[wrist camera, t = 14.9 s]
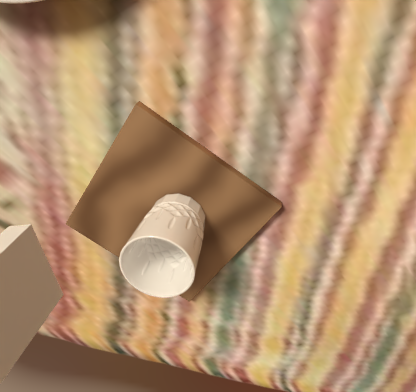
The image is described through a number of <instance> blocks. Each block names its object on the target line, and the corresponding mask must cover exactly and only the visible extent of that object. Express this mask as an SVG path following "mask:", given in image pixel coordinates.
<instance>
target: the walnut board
mask: <svg viewBox="0 0 416 392" xmlns="http://www.w3.org/2000/svg"><path fill="white" fill-rule="evenodd" d="M168 194H182V195H185V196H188V197H191V198H192V199H193V200H195V201H196V202H197V203H198V204H199V205H200V206H201V208H202V210H203V212H204V214H205V228H204V235H203V240H202V246H201V251H200V255H199V260H198V264H197V268H196V273H195V278H194V281H193V283H192V285H191V286H190V288H189V289H188V290H187V291H185V292H184V293H182V294H180V296H181V297H183V298H185V299H186V300H188V301H189V302H190V301H191V300H192V299H193V298H194V297H195V296H196V295H197V294H198V293H199V292H200V290H201V289H202V288H203V287H204V286H205V285H206V284H207V283H208V282H209V281H210V280H211V279H212V278H213V277H214V276H215V275H216V274H217V273H218V272H219V271H220V270H221V269H222V268H223V267H224V266H225V265H226V264H227V263H228V262H229V261H230V260H231V259H232V258H233V257H234V256H235V254H236V253H237V252H238V251H239V250H240V249H241V248H242V247H243V246H244V245H245V244H246V243H247V242H248V241H249V240H250V239H251V238H252V237H253V236H254V235H255V234H256V233H257V232H258V231H259V230H260V229H261V228H262V227H263V226H264V225H265V224H266V223H267V222H268V221H269V220H270V219H271V217H272V216H273V215H274V214H275V213H276V212H277V211H278V210H279V209H280V208H281V207H282V202H281V201H280V200H278V199H277V198H275V197H274V196H273V195H271V194H270V193H268V192H267V191H266V190H264V189H263V188H261V187H260V186H258V185H257V184H256V183H254V182H253V181H251V180H250V179H249V178H247V177H246V176H244V175H243V174H242V173H240V172H239V171H237V170H236V169H234V168H233V167H232V166H230V165H229V164H227V163H226V162H225V161H223V160H222V159H220V158H219V157H217V156H216V155H215V154H213V153H212V152H210V151H209V150H208V149H206V148H205V147H203V146H202V145H201V144H199V143H198V142H196V141H195V140H193V139H192V138H191V137H189V136H188V135H186V134H185V133H184V132H182V131H181V130H179V129H178V128H177V127H175V126H174V125H172V124H171V123H169V122H168V121H167V120H165V119H164V118H162V117H161V116H160V115H158V114H157V113H155V112H154V111H153V110H151V109H150V108H148V107H147V106H145V105H144V104H143V103H141V102H140V101H139V102H138V103H137V104H136V105H135V106H134V108H133V110H132V112H131V113H130V115H129V117H128V118H127V120H126V122H125V123H124V125H123V127H122V129H121V130H120V132H119V134H118V135H117V137H116V139H115V141H114V142H113V144H112V146H111V147H110V149H109V151H108V153H107V154H106V156H105V158H104V159H103V161H102V163H101V164H100V166H99V168H98V170H97V171H96V173H95V175H94V176H93V178H92V180H91V182H90V183H89V185H88V187H87V188H86V190H85V192H84V193H83V195H82V197H81V199H80V200H79V202H78V204H77V205H76V207H75V209H74V211H73V212H72V214H71V216H70V217H69V219H68V221H67V223H66V224H67V225H68V226H70V227H71V228H73V229H75V230H76V231H78V232H79V233H81V234H82V235H84V236H86V237H87V238H89V239H90V240H92V241H94V242H95V243H97V244H98V245H100V246H102V247H103V248H105V249H106V250H108V251H110V252H111V253H113V254H114V255H116V256H118V257H120V253H121V251H122V249H123V247H124V246H125V244H126V243H127V242H128V240H129V239H130V237H131V236H132V234H133V233H134V231H135V230H136V228H137V227H138V225H139V224H140V223H141V221H142V220H143V219H144V217H145V216H146V215H147V213H148V212H149V211H150V210H151V209H152V208H153V206H154V205H155V203H156V202H157V200H159V199H160V198H162V197H164V196H165V195H168Z"/></svg>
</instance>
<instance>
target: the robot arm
mask: <svg viewBox="0 0 416 392" xmlns="http://www.w3.org/2000/svg"><path fill="white" fill-rule="evenodd" d="M62 296H63V292H62V290H61V288H60V286H59V284H58V282H57V279H56V277H55V275H54V273H53V271H52V269H51V267H50V264H49V262H48V260H47V258H46V256H45V254H44V251H43V249H42V247H41V245H40V243H39V241H38V238H37V236H36V234H35V232H34V230H33V228H32V225H31V224H29V225H17V226H9V227H8V228H7V229H5V230H4V231H3V232H2V233H1V234H0V384H1V383H2V381H3V379H4V378H5V377H6V375H7V374H8V373H9V371H10V370H11V368H12V367H13V366H14V364H15V363H16V361H17V360H18V358H19V357H20V355H21V354H22V353H23V351H24V350H25V348H26V347H27V345H28V344H29V343H30V341H31V340H32V338H33V337H34V335H35V334H36V333H37V331H38V330H39V328H40V327H41V326H42V324H43V323H44V321H45V320H46V319H47V317H48V316H49V314H50V313H51V311H52V310H53V309H54V307H55V306H56V304H57V303H58V301H59V300H60V299H61V297H62Z"/></svg>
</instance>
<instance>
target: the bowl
mask: <svg viewBox="0 0 416 392" xmlns="http://www.w3.org/2000/svg"><path fill="white" fill-rule="evenodd" d="M39 1H44V0H0V3H31V2H39Z"/></svg>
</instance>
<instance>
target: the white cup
mask: <svg viewBox="0 0 416 392" xmlns="http://www.w3.org/2000/svg"><path fill="white" fill-rule="evenodd" d="M204 228H205V214H204V212H203V210H202V208H201V206H200V205H199V204H198V203H197V202H196V201H195V200H193V199H192V198H191V197H188V196H185V195H182V194H168V195H165V196H164V197H162V198H160V199H159V200H157V202H156V203H155V205H154V206H153V208H152V209H151V210H150V211H149V212H148V213H147V215H146V216H145V217H144V219H143V220H142V221H141V223H140V224H139V225H138V227H137V228H136V230H135V231H134V233H133V234H132V236H131V237H130V239H129V240H128V242H127V243H126V244H125V246H124V247H123V249H122V251H121V253H120V257H119V264H120V269H121V271H122V274H123V275H124V277H125V278H126V280H127V281H128V282H129V283H130V284H131V285H132V286H133V287H134V288H136V289H137V290H139V291H141V292H143V293H145V294H147V295H150V296H154V297H160V298H169V297H175V296H178V295H180V294H182V293H184V292H185V291H187V290H188V289H189V288H190V286H191V285H192V283H193V281H194V278H195V273H196V268H197V264H198V260H199V255H200V251H201V246H202V240H203V235H204Z"/></svg>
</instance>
